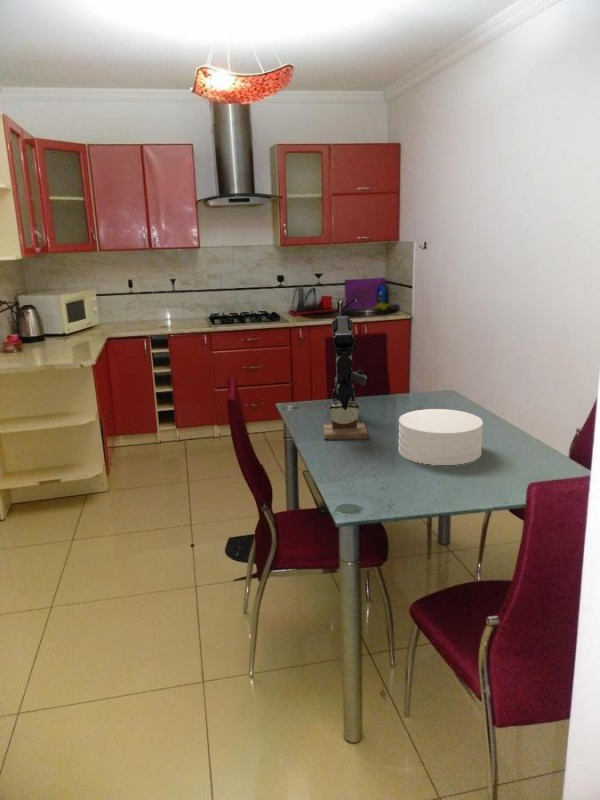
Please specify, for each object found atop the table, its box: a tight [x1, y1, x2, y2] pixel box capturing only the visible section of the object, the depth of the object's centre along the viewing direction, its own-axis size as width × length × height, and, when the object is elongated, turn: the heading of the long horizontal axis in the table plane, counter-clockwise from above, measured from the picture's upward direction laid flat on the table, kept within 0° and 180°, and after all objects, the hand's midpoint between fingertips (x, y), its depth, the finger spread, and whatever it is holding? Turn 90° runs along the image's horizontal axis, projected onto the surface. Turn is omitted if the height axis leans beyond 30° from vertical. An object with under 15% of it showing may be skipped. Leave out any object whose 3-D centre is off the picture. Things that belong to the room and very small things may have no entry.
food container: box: [328, 401, 361, 430], centre depth 228 cm, size 12×6×10 cm, turn 90°
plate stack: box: [398, 408, 484, 466], centre depth 205 cm, size 28×28×12 cm
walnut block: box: [322, 422, 368, 441], centre depth 228 cm, size 14×16×2 cm
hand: (344, 406), depth 225 cm, fingers open, 9 cm apart
